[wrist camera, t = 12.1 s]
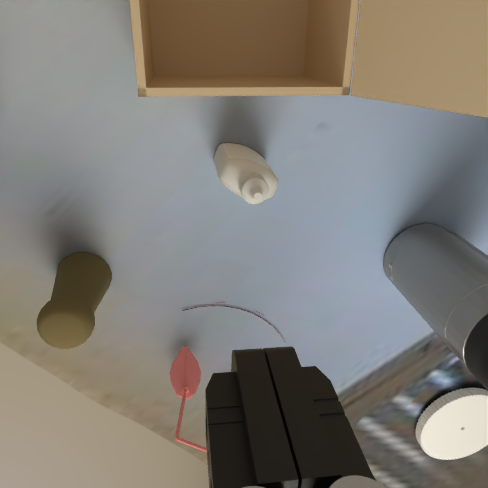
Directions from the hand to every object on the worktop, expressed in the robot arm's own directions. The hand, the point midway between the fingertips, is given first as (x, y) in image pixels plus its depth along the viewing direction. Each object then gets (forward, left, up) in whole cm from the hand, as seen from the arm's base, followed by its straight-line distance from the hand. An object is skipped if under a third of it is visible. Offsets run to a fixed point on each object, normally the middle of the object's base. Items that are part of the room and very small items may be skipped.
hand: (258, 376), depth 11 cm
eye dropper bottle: (-4, +4, -38) cm, 38 cm away
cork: (+14, +17, -38) cm, 44 cm away
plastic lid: (-40, +47, -38) cm, 72 cm away
